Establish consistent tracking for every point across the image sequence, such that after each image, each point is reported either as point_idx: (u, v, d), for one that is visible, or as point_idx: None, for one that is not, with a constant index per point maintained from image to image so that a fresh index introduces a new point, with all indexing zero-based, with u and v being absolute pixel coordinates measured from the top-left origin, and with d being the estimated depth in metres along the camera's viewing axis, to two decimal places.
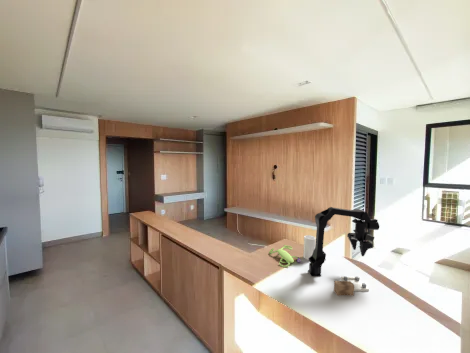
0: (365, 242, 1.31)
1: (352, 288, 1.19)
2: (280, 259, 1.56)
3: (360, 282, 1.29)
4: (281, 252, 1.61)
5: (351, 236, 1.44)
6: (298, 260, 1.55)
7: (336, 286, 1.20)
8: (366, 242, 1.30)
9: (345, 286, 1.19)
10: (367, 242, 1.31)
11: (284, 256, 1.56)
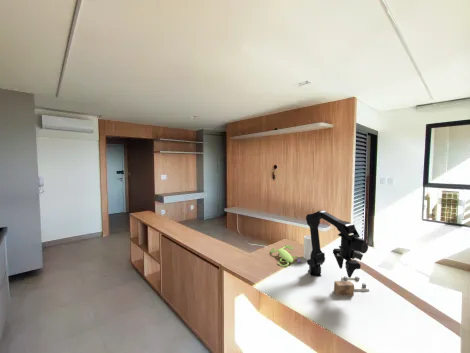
0: (352, 262, 1.12)
1: (352, 288, 1.19)
2: (280, 258, 1.57)
3: (360, 282, 1.29)
4: (281, 252, 1.62)
5: (337, 253, 1.25)
6: (298, 260, 1.55)
7: (336, 286, 1.20)
8: (353, 262, 1.11)
9: (345, 286, 1.19)
10: (354, 262, 1.12)
11: (284, 256, 1.57)
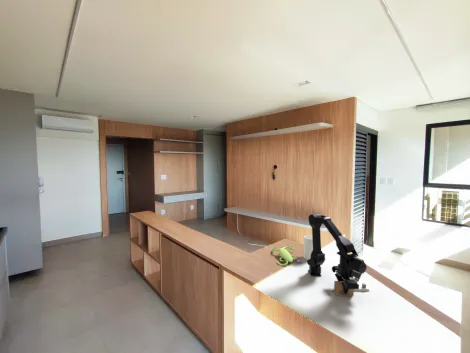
0: (350, 281, 1.13)
1: None
2: (280, 258, 1.58)
3: (360, 282, 1.29)
4: (282, 251, 1.63)
5: (336, 270, 1.26)
6: (298, 260, 1.55)
7: (336, 286, 1.20)
8: (351, 282, 1.12)
9: None
10: (352, 281, 1.13)
11: (284, 255, 1.58)
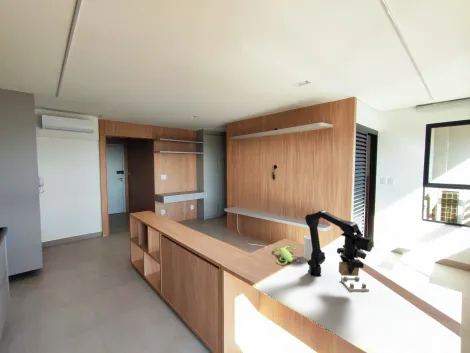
0: (355, 261, 1.14)
1: (357, 268, 1.20)
2: (280, 257, 1.59)
3: (360, 282, 1.29)
4: (282, 251, 1.63)
5: (341, 252, 1.27)
6: (297, 260, 1.55)
7: (341, 266, 1.22)
8: (356, 261, 1.13)
9: None
10: (357, 261, 1.14)
11: (284, 255, 1.59)
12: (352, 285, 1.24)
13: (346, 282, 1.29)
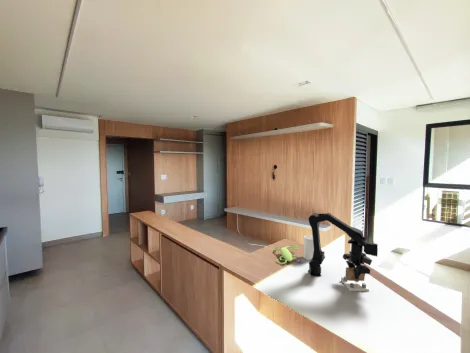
0: (362, 267, 1.19)
1: None
2: (280, 256, 1.60)
3: (360, 282, 1.29)
4: (283, 250, 1.64)
5: (347, 258, 1.32)
6: (297, 260, 1.55)
7: (348, 272, 1.27)
8: (363, 267, 1.19)
9: None
10: (364, 267, 1.19)
11: (284, 254, 1.59)
12: (352, 285, 1.24)
13: (346, 282, 1.29)
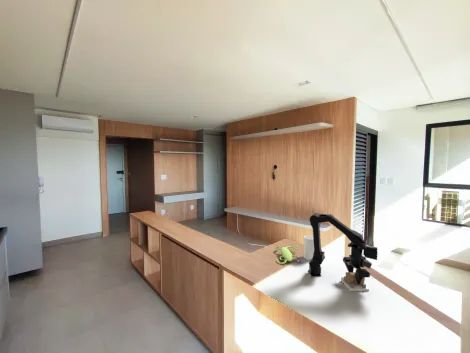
0: (361, 270, 1.20)
1: (363, 278, 1.26)
2: (280, 256, 1.61)
3: None
4: (283, 250, 1.64)
5: (347, 261, 1.32)
6: (297, 260, 1.55)
7: (347, 277, 1.27)
8: (362, 271, 1.19)
9: None
10: (364, 270, 1.20)
11: (284, 254, 1.60)
12: (352, 285, 1.24)
13: None
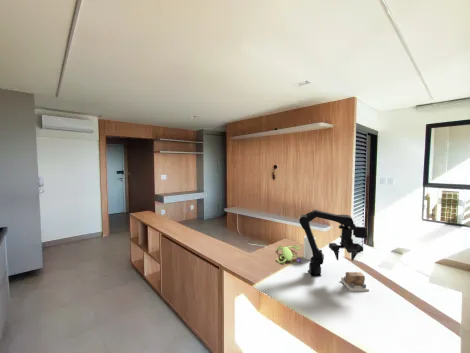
0: (333, 244, 1.33)
1: (363, 278, 1.26)
2: None
3: None
4: (284, 249, 1.65)
5: None
6: (297, 260, 1.55)
7: (347, 277, 1.27)
8: (332, 244, 1.33)
9: (356, 277, 1.26)
10: (334, 244, 1.32)
11: (284, 253, 1.61)
12: (352, 285, 1.24)
13: None
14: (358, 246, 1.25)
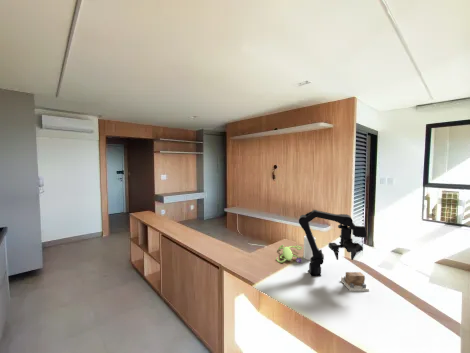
0: (333, 243, 1.34)
1: (363, 278, 1.26)
2: None
3: None
4: (285, 249, 1.66)
5: None
6: (297, 260, 1.55)
7: (347, 277, 1.27)
8: (332, 243, 1.33)
9: (356, 277, 1.26)
10: (334, 244, 1.32)
11: (285, 253, 1.61)
12: (352, 285, 1.24)
13: None
14: (358, 245, 1.26)
